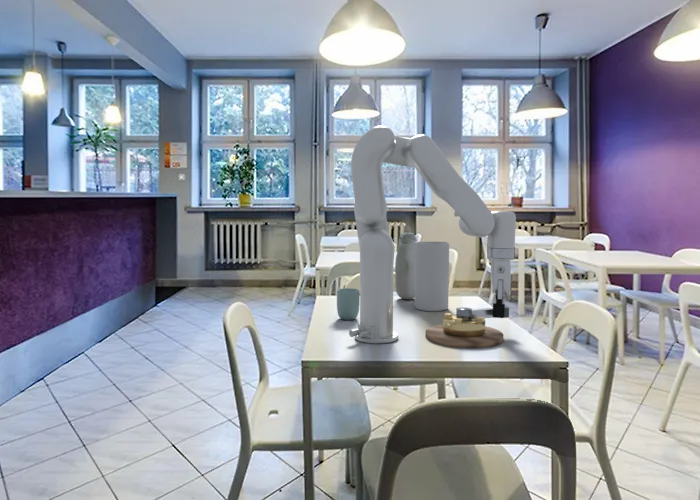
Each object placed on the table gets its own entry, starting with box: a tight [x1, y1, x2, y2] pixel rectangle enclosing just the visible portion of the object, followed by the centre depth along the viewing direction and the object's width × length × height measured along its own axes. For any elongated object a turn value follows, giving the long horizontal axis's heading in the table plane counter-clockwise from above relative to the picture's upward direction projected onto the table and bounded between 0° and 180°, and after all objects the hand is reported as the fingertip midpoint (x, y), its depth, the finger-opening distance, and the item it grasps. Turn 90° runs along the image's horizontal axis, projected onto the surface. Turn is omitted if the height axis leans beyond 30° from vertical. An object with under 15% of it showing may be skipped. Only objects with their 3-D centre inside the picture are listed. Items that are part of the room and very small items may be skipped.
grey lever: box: [442, 306, 510, 337], centre depth 138 cm, size 20×12×7 cm, turn 105°
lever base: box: [425, 323, 504, 349], centre depth 137 cm, size 22×22×2 cm
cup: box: [336, 287, 360, 321], centre depth 161 cm, size 8×8×10 cm
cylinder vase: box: [414, 241, 450, 312], centre depth 177 cm, size 12×12×25 cm
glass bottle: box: [394, 231, 418, 300], centre depth 196 cm, size 10×10×28 cm
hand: (498, 317), depth 136 cm, fingers closed
